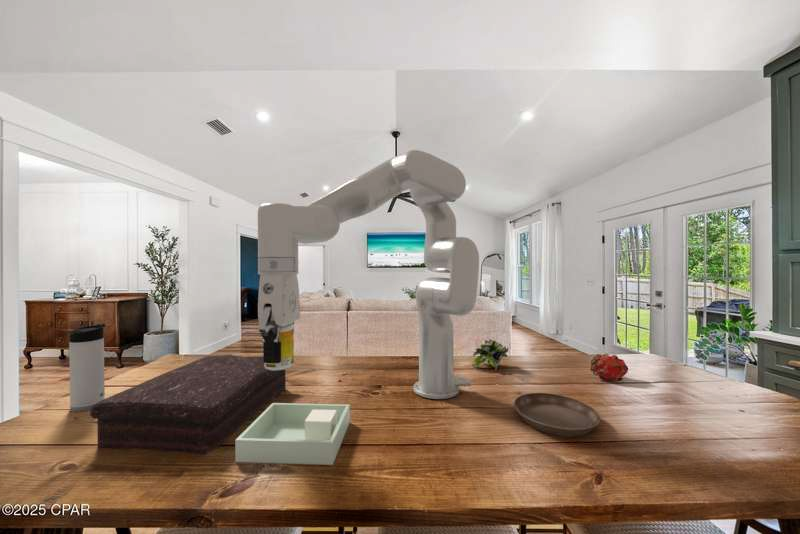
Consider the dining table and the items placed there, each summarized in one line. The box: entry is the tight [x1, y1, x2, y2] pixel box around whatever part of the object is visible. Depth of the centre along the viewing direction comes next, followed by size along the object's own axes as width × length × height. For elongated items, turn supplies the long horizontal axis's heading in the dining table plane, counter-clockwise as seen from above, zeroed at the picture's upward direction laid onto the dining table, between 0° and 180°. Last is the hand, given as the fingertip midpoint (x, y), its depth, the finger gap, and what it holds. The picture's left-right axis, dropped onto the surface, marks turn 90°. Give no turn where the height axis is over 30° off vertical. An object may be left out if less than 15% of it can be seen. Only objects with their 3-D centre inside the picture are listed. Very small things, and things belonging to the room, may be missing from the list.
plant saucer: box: [513, 392, 601, 438], centre depth 76 cm, size 18×18×3 cm
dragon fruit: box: [590, 353, 629, 382], centre depth 102 cm, size 8×8×12 cm
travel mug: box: [68, 323, 106, 413], centre depth 83 cm, size 6×7×20 cm
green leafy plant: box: [472, 339, 509, 372], centre depth 113 cm, size 11×11×12 cm
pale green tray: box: [234, 402, 351, 466], centre depth 66 cm, size 17×15×4 cm
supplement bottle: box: [264, 322, 295, 370], centre depth 66 cm, size 6×6×10 cm
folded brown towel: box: [89, 354, 287, 455], centre depth 79 cm, size 34×26×10 cm
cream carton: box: [305, 409, 337, 440], centre depth 66 cm, size 5×5×5 cm
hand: (279, 356), depth 66 cm, fingers closed on supplement bottle, 5 cm apart
